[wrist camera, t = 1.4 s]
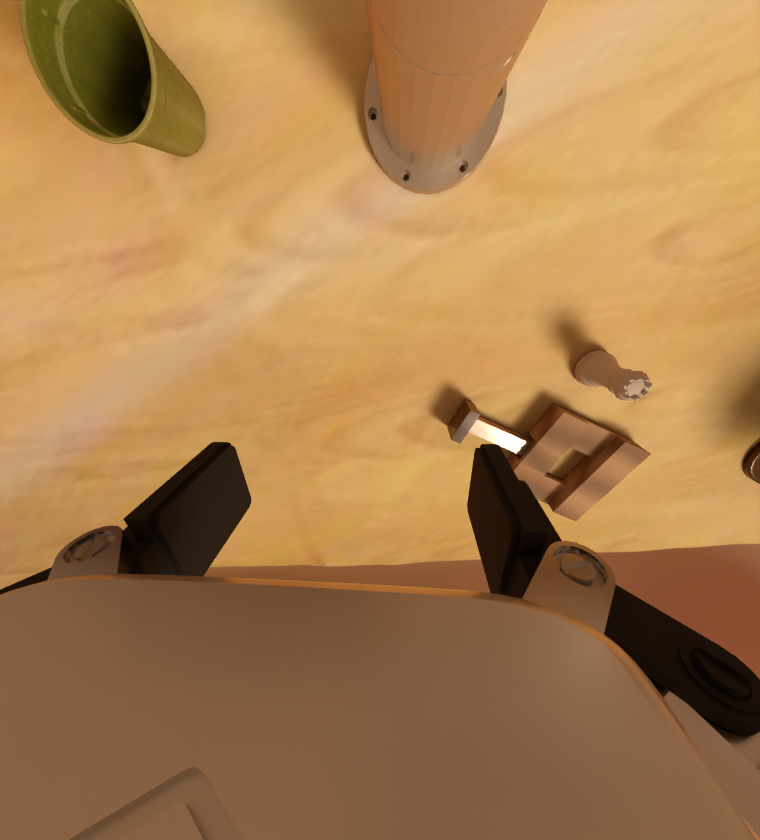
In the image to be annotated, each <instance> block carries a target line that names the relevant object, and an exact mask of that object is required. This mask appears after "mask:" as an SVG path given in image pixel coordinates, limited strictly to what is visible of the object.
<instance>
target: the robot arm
mask: <svg viewBox="0 0 760 840" xmlns="http://www.w3.org/2000/svg"><path fill="white" fill-rule="evenodd" d="M547 1H548V0H366V6H367V13H368V21H369V28H370V35H371V43H372V50H373V55H372V58H371V61H370V64H369V68H368V72H367V77H366V82H365V92H364V116H365V124H366V129H367V134H368V138H369V142H370V145H371V148H372V151H373V153H374V155H375V157H376V159H377V162H378V163H379V165H380V166H381V168H382V169H383V171H384V172H385V173H386V174H387V175H388V176H389V177H390V178H391V179H392V180H393V181H394V182H395V183H396V184H398V185H399V186H401V187H403V188H404V189H406V190H409V191H412V192H415V193H423V194H431V193H438V192H442V191H444V190H447V189H449V188H452V187H453V186H455V185H457V184H458V183H460V182H461V181H463V180H464V179H465V178H466V177H467V176H468V175H469V174H470V173H471V172H472V171H474V169H475V168H476V167H477V165H478V164H479V163H480V162H481V160H482V159H483V158H484V156H485V154H486V153H487V151H488V150H489V148H490V146H491V144H492V142H493V140H494V138H495V135H496V133H497V131H498V128H499V125H500V122H501V118H502V115H503V111H504V105H505V99H506V87H507V77H508V75H509V73H510V71H511V70H512V68H513V66H514V64H515V62H516V60H517V58H518V56H519V54H520V52H521V50H522V49H523V47H524V45H525V43H526V41H527V39H528V37H529V35H530V33H531V31H532V29H533V28H534V26H535V24H536V22H537V20H538V18H539V16H540V14H541V12H542V10H543V8H544V7H545V5H546V3H547ZM373 115H374V116H376V119H375V120H371V117H372V116H373ZM460 167H464V172H461V171H460ZM405 175H407V176H408V178H409V179H408V180H407V181H405V180H404V179H403V178H404V176H405ZM250 504H251V496H250V493H249V490H248V487H247V483H246V480H245V477H244V474H243V471H242V468H241V465H240V461H239V458H238V455H237V452H236V449H235V447H234V446H232V445H231V444H230V443H228V442H212V443H211V444H210V445H208V446H207V447H206V448H205V449H204V450H203V451H201V452H200V453H199V454H198V455H197V456H196V457H194V458H193V459H192V460H191V461H190V462H189V463H188V464H186V465H185V466H184V467H183V468H182V469H181V470H179V471H178V472H177V473H176V474H175V475H174V476H172V477H171V478H170V479H169V480H168V481H167V482H166V483H164V484H163V485H162V486H161V487H160V488H159V489H157V490H156V491H155V492H154V493H153V494H152V495H150V496H149V497H148V498H147V499H146V500H145V501H144V502H142V503H141V504H140V505H139V506H138V507H137V508H135V509H134V510H133V511H132V512H131V513H130V514H128V515H127V516H126V517H125V518H124V521H125V522H126V524H127V525H128V527H127V528H125V529H124V530H122V529H121V528H120V527H118V526H104V527H101V528H97V529H94V530H92V531H90V532H87V533H85V534H83V535H81V536H80V537H78V538H76V539H74V540H73V541H72V542H70V543H69V544H68V545H66V546H65V547H64V548H63V549H62V550H61V551H60V552H59V554H58V555H57V557H56V558H55V561H54V564H53V566H52V567H51V568H49V569H47V570H44V571H42V572H40V573H38V574H36V575H33V576H31V577H28V578H26V579H24V580H22V581H19V582H17V583H15V584H12V585H10V586H8V587H5V588H3V589H1V590H0V840H756V839H755V837H754V835H753V834H752V832H751V831H750V829H749V828H748V826H747V824H746V823H745V821H744V819H745V820H746V821H747V823H748V824H749V825H750V826H751V828H752V829H753V830H754V831H755V833H756V834H757V835H758V836H759V838H760V679H759V678H758V677H757V676H756V675H755V674H754V673H753V672H752V670H751V669H749V668H748V667H747V666H746V665H745V664H744V663H743V662H741V661H740V660H739V659H738V658H737V657H736V656H734V655H733V654H731V653H729V652H728V651H727V650H725V649H724V648H722V647H721V646H719V645H717V644H716V643H714V642H712V641H710V640H709V639H707V638H705V637H704V636H702V635H700V634H699V633H697V632H695V631H694V630H692V629H690V628H688V627H687V626H685V625H683V624H682V623H680V622H678V621H677V620H675V619H673V618H672V617H670V616H668V615H666V614H665V613H663V612H661V611H660V610H658V609H656V608H654V607H653V606H651V605H649V604H647V603H646V602H644V601H643V600H641V599H639V598H638V597H636V596H634V595H632V594H631V593H629V592H627V591H626V590H624V589H622V588H621V587H619V586H617V585H616V580H615V579H616V578H615V575H614V572H613V570H612V568H611V567H610V566H609V564H608V563H607V562H606V561H605V560H604V559H603V558H602V557H601V556H600V555H598V554H597V553H596V552H594V551H593V550H591V549H589V548H587V547H586V546H583V545H580V544H578V543H575V542H570V541H562V540H561V539H560V537H559V536H558V534H557V532H556V531H555V529H554V527H553V526H552V524H551V522H550V521H549V519H548V517H547V516H546V514H545V512H544V511H543V509H542V507H541V506H540V504H539V502H538V501H537V499H536V497H535V496H534V494H533V492H532V491H531V489H530V488H529V486H528V484H527V483H526V482H525V481H523V480H518V478H517V476H516V474H515V473H514V471H513V469H512V467H511V466H510V464H509V462H508V460H507V459H506V457H505V455H504V454H503V452H502V450H501V448H500V447H499V445H498V444H482V445H481V446H480V448H476V449H475V453H474V460H473V467H472V475H471V482H470V489H469V496H468V504H467V507H468V514H469V517H470V521H471V524H472V528H473V532H474V535H475V539H476V542H477V546H478V549H479V553H480V557H481V560H482V564H483V567H484V571H485V575H486V578H487V582H488V585H489V589H490V593H483V592H476V591H464V590H451V589H437V588H423V587H407V586H389V585H370V584H352V583H332V582H313V581H293V580H292V581H291V580H271V579H250V578H228V577H204V574H205V573H206V571H207V570H208V568H209V567H210V565H211V564H212V562H213V561H214V559H215V558H216V556H217V555H218V553H219V552H220V550H221V549H222V547H223V546H224V544H225V543H226V541H227V540H228V538H229V537H230V535H231V534H232V532H233V531H234V529H235V528H236V526H237V525H238V523H239V522H240V520H241V519H242V517H243V516H244V514H245V513H246V511H247V510H248V508H249V507H250ZM740 814H741V815H742V816H741V815H740ZM742 817H743V818H744V819H743V818H742Z"/></svg>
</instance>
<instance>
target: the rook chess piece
mask: <svg viewBox="0 0 760 840" xmlns="http://www.w3.org/2000/svg"><path fill="white" fill-rule="evenodd" d="M574 372H575V378H576V379H577V381H578V382H580V383H582V384H584V385H586V386H590V387H598V386H603V387H606V388H608V389H609V391H610V392H612V393H614V394H615V396H616V397H617V398H618V399H620V400H631V399H633V400H635V401H636V400H640V397H639V396H641V395H644V396H647V395H648V394H649V393H650V392H648V391H646V390H647V388H652V383H650V382H649V381H650V380H649V378H648V376H647V374H645V373H643V372H642V371H632V370H630V369H623V368H621V367H620V366H619V364H618V361H617V360H616V358H615V357H614V356H613V355H611V354H609V353H607V352H605V351H594V352H590V353H588V354H587V355H585V356H584V357H582V358H581V359H580V361H579V362H578V363H577V365H576V367H575V370H574Z"/></svg>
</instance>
